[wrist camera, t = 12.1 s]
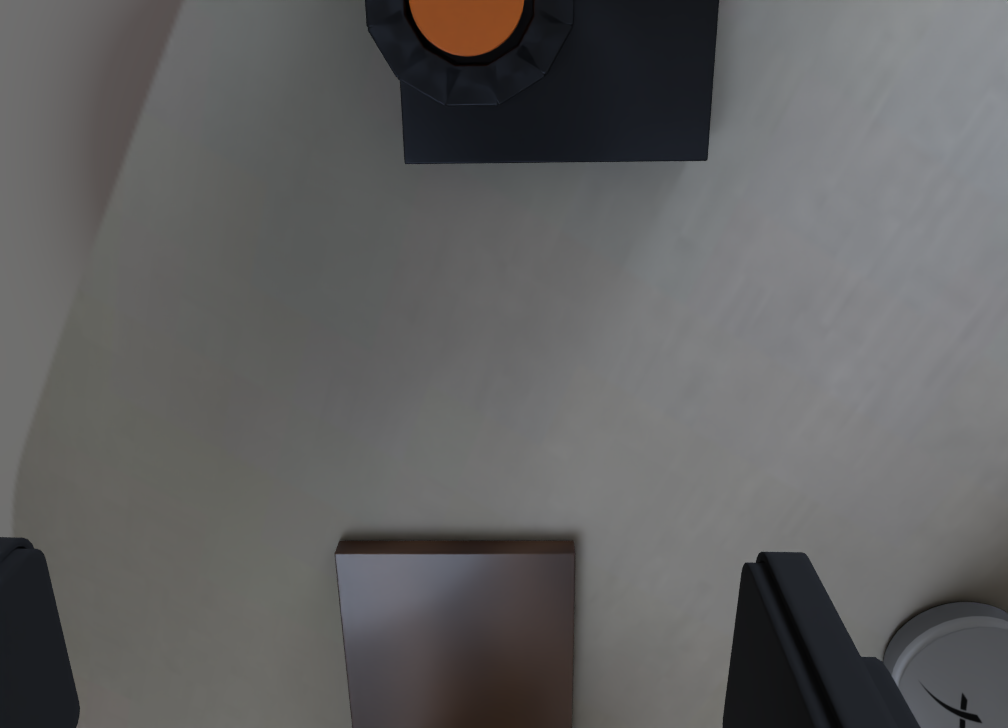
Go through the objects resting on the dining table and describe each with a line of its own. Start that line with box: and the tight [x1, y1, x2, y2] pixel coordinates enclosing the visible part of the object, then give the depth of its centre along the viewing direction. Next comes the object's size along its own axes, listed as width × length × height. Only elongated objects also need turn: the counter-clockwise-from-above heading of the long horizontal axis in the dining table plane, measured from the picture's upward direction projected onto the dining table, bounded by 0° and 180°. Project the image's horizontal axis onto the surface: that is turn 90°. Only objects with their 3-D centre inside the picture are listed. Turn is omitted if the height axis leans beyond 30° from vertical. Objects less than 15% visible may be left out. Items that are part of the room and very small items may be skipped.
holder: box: [335, 541, 575, 728], centre depth 39 cm, size 10×19×1 cm, turn 1°
